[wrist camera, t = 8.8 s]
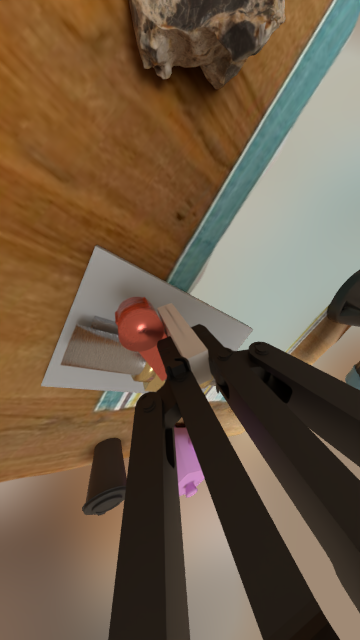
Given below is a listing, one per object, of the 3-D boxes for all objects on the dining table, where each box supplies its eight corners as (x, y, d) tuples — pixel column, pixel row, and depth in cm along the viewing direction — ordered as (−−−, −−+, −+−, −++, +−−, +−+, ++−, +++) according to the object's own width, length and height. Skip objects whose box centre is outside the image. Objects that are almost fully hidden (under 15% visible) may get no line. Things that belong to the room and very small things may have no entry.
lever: (194, 379, 23) (210, 410, 20) (176, 390, 23) (189, 423, 19) (140, 283, 14) (152, 305, 10) (108, 299, 13) (108, 329, 10)
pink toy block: (171, 451, 50) (187, 507, 40) (143, 454, 44) (153, 521, 34) (209, 409, 46) (237, 461, 35) (183, 407, 40) (208, 468, 30)
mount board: (96, 244, 17) (95, 245, 16) (248, 325, 33) (253, 329, 32) (44, 377, 22) (40, 385, 21) (197, 391, 39) (199, 397, 37)
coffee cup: (91, 460, 37) (85, 526, 29) (84, 443, 33) (76, 514, 25) (127, 447, 39) (132, 503, 31) (125, 429, 36) (130, 489, 28)
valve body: (83, 306, 18) (73, 335, 13) (230, 353, 33) (250, 375, 29) (65, 348, 20) (51, 387, 15) (213, 375, 35) (229, 399, 30)
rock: (167, 164, 15) (295, 87, 11) (102, 18, 9) (348, -302, 4) (171, 108, 17) (276, 29, 13) (122, -37, 11) (293, -278, 7)
